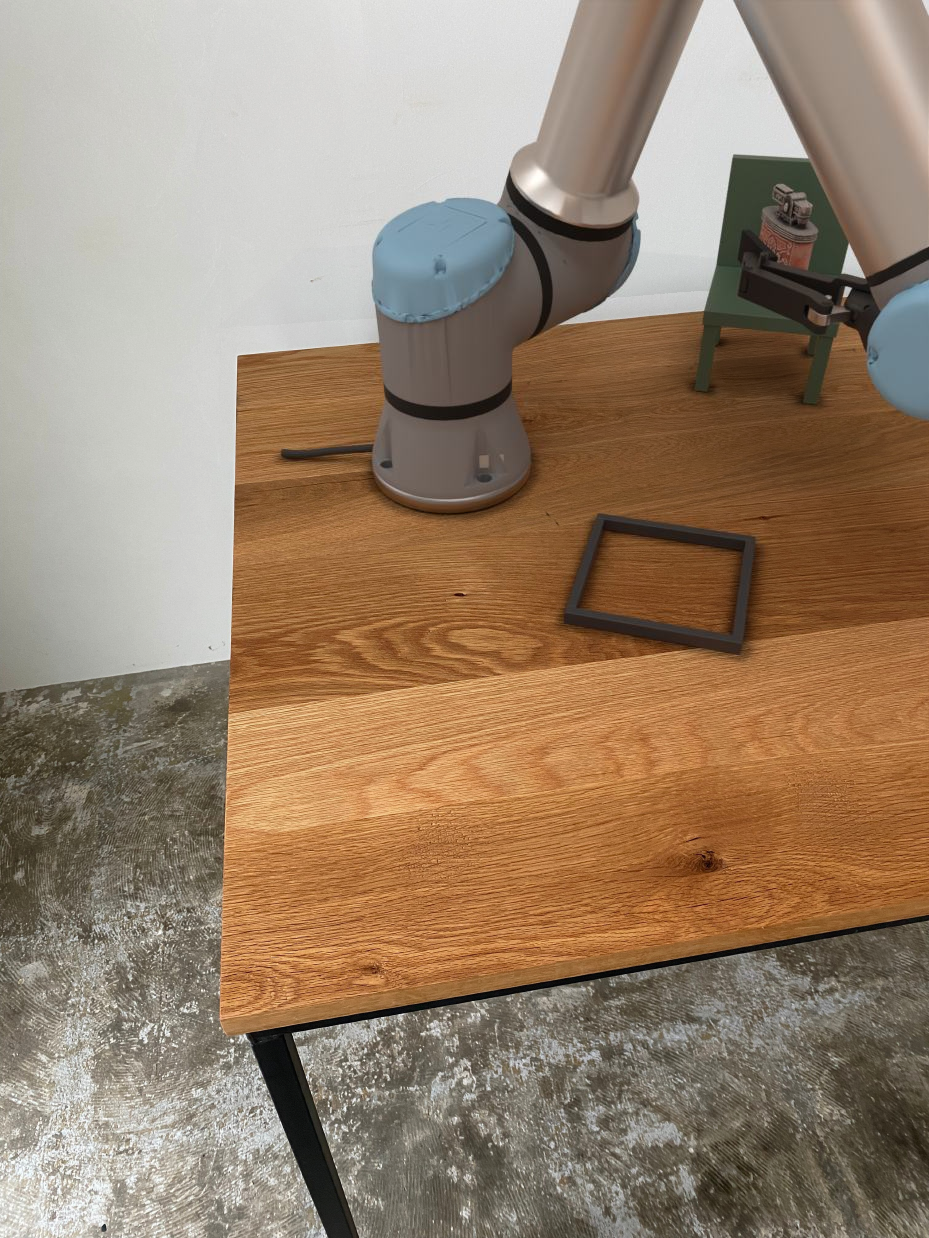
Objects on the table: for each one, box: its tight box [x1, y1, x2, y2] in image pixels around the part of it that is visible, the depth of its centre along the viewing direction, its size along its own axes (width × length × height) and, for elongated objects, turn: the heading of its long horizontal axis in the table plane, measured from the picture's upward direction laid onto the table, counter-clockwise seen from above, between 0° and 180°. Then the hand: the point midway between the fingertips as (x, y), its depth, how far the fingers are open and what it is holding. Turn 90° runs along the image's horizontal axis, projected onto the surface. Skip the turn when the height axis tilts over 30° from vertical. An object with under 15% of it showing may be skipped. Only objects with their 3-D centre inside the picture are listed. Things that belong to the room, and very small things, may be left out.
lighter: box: [759, 184, 818, 270], centre depth 93 cm, size 8×3×10 cm, turn 13°
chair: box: [694, 153, 850, 406], centre depth 96 cm, size 13×13×20 cm
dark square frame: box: [563, 512, 757, 655], centre depth 77 cm, size 14×14×1 cm
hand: (813, 238), depth 87 cm, fingers open, 13 cm apart
